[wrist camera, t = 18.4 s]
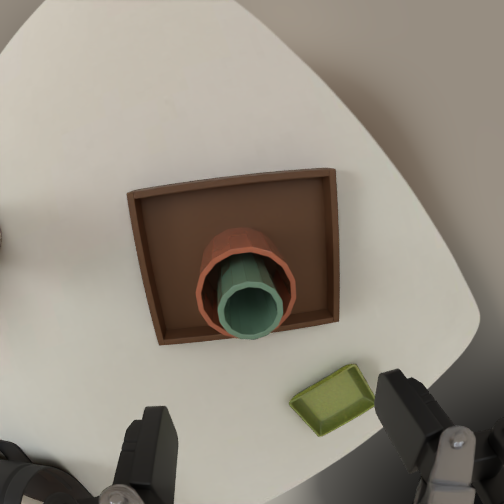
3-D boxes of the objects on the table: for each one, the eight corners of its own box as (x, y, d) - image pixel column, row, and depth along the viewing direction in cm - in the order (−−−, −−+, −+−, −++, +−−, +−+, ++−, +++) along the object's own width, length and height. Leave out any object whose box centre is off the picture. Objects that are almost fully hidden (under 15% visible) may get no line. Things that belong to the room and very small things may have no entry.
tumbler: (276, 221, 29) (293, 241, 22) (281, 295, 31) (298, 331, 24) (195, 231, 28) (188, 254, 22) (207, 304, 31) (205, 343, 24)
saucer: (349, 353, 34) (356, 363, 32) (373, 393, 36) (379, 403, 34) (283, 391, 35) (287, 403, 33) (315, 427, 37) (319, 438, 35)
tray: (325, 167, 28) (335, 168, 25) (331, 309, 32) (339, 321, 30) (134, 189, 27) (126, 193, 24) (162, 331, 31) (159, 345, 28)
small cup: (262, 240, 29) (280, 276, 20) (266, 285, 30) (285, 335, 21) (215, 246, 28) (213, 285, 20) (221, 291, 30) (223, 343, 21)
